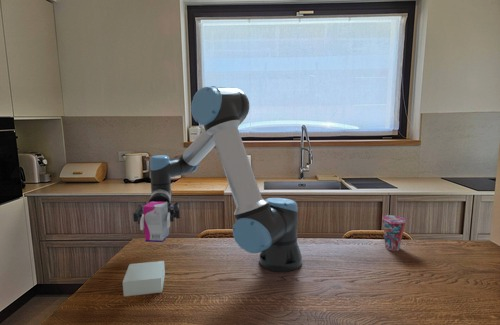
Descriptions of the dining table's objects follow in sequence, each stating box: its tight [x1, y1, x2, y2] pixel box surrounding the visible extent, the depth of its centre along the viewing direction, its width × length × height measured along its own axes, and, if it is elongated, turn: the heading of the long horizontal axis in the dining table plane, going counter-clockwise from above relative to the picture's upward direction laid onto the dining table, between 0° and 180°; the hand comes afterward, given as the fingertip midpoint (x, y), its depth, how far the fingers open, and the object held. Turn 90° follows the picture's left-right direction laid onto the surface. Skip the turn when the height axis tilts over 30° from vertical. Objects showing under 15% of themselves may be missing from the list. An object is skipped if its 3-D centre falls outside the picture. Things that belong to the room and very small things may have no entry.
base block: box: [122, 260, 166, 297], centre depth 100 cm, size 11×11×5 cm
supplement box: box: [142, 201, 170, 243], centre depth 100 cm, size 6×6×12 cm
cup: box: [382, 214, 407, 252], centre depth 122 cm, size 9×8×12 cm
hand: (155, 224), depth 95 cm, fingers closed on supplement box, 7 cm apart
